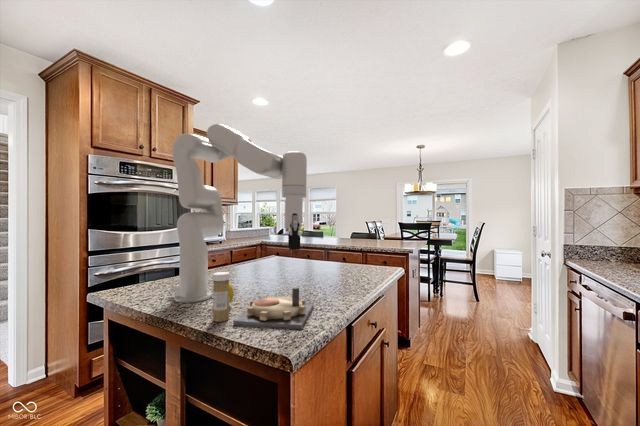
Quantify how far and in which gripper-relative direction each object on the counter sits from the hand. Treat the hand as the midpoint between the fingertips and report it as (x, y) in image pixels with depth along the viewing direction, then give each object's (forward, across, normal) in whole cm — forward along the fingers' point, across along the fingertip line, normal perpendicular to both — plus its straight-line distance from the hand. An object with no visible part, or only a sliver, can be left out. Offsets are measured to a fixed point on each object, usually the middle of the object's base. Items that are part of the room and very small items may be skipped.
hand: (293, 247), depth 85 cm
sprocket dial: (+19, +1, -5) cm, 19 cm away
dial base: (+20, +1, -5) cm, 21 cm away
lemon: (+21, -11, -22) cm, 32 cm away
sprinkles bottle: (+20, +2, -21) cm, 29 cm away
